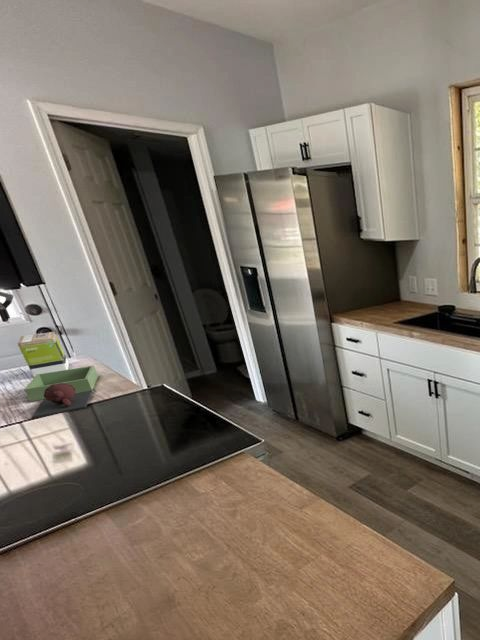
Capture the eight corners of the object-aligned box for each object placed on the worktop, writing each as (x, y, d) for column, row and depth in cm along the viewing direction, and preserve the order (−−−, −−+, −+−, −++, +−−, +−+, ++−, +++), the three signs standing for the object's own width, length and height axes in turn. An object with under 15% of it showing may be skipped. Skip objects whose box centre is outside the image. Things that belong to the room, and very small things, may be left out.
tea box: (36, 369, 173) (20, 335, 167) (69, 363, 179) (55, 330, 174) (33, 378, 163) (16, 342, 157) (69, 372, 169) (53, 337, 164)
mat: (32, 418, 128) (31, 416, 128) (44, 400, 141) (43, 399, 141) (85, 407, 135) (84, 406, 135) (92, 391, 148) (91, 390, 148)
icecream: (35, 383, 137) (39, 398, 128) (63, 372, 141) (69, 386, 133) (51, 399, 141) (56, 415, 132) (78, 388, 145) (84, 403, 137)
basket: (29, 401, 141) (24, 389, 139) (41, 385, 155) (36, 374, 153) (92, 390, 150) (87, 378, 148) (98, 376, 164) (93, 365, 162)
